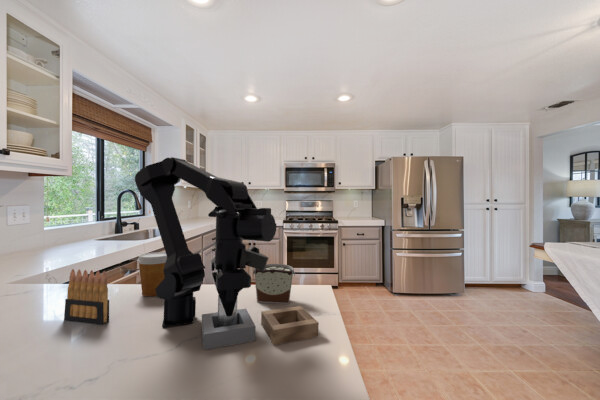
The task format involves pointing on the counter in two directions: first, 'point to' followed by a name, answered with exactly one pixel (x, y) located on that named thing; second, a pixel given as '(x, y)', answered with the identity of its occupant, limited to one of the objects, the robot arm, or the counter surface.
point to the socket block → (227, 330)
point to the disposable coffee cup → (151, 271)
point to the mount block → (288, 325)
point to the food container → (274, 283)
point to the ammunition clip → (87, 298)
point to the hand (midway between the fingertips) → (227, 310)
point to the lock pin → (224, 319)
